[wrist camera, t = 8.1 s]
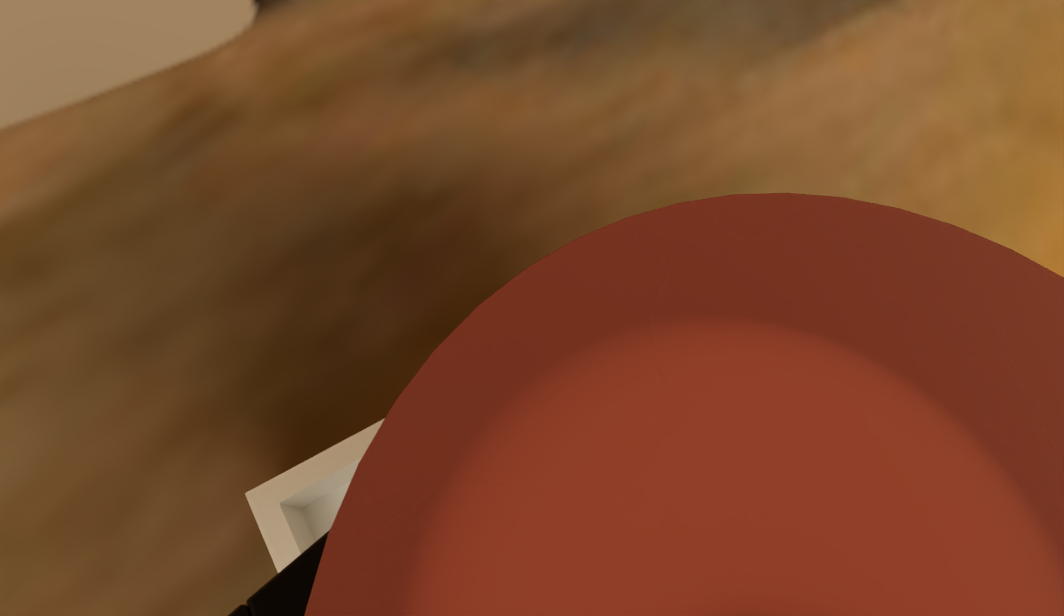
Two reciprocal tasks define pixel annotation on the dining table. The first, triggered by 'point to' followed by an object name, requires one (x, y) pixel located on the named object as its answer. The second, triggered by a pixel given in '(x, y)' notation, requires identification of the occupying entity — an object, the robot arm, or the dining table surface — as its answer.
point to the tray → (306, 498)
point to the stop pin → (727, 429)
